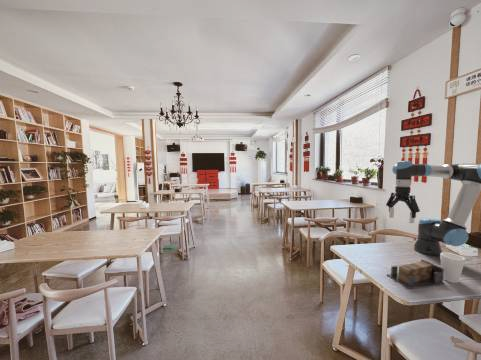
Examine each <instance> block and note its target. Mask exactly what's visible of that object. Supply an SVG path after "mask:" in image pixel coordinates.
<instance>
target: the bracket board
mask: <svg viewBox="0 0 481 360" xmlns="http://www.w3.org/2000/svg"><path fill="white" fill-rule="evenodd" d="M421 261H422V262H425V263H428V264H430V265H432V275H431V278H429V279H425V280H421V281H417V282H415V278H416V276H415V275H409V280H408V284H407V283H405V282H403V281H401V280H399V279H398V275H399V272H398V271H399V266H397V265H392V266H391V270H390V273H388V274H386V276H388V277H389V278H390V279H392V280H394V281H396V282H397V283H398V284H401V285H403V286H404V287H406V288H408V289H410V290H411V289H417V288H424V287H430V286H431V287H432V286H438V285H439V286H440V285H445V284H446V283H445V282H444V279H443V274H444V268H441V266H438V265H436V264H434V263H433V262H432V263H431V262H430V261H427V260H424V259H420V262H421Z"/></svg>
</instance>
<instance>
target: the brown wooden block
mask: <svg viewBox="0 0 481 360" xmlns="http://www.w3.org/2000/svg"><path fill="white" fill-rule="evenodd" d="M398 273H399V275H398V279H399V280H401V281H403V282H405V283H407V284H408V280H409V275H415V276H416V278H415V282H417V281H421V280H425V279H429V278H431V275H432V265H430V264H428V263H425V262H422V261H421V260H420V261H417V262H413V263H409V264H402V265H399V266H398Z"/></svg>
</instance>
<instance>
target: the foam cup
mask: <svg viewBox="0 0 481 360" xmlns="http://www.w3.org/2000/svg"><path fill="white" fill-rule="evenodd" d="M439 258H440V267H441V268H444V274H443V281H446V282H449V283H452V284H453V283H454V284H458V283H459V282H460V279H461V276H462V273H463V272H462V271H463V269H464V265H465V264H466V258H465V257H464V256H463V255H459V254H456V253H451V252H442V253H440V255H439Z"/></svg>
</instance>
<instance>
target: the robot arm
mask: <svg viewBox="0 0 481 360" xmlns="http://www.w3.org/2000/svg"><path fill="white" fill-rule="evenodd" d="M392 173H393V174H395V188H394V189H395V190H394V191H395V192H391V193H390V197H389V198H388V200H387V202H386V205H385V206H386V207H388V212H389V218H390V219H391V218H394V217H395V216H394V215H395V206H396V205H397V203H398V202H404V203H405V204H406V206H407V207H408V209H409V210H410V212H409V221H408V224H415V218H416V217H417V213H419V212H421V211H420V208H419V205H418V202H417V201H416V196H415V195H413V194H412V195H410V193H411V185H412V177H423V178H424V177H435V178H436V177H437V178H442V179H445V180H447V179H448V180H452V181H453V180H454V181H459V182H460V183H461V184H462V186H461V188H460V190H459V191H458V194H457V196H456V199H455V201H454V202H453V205H452V206H451V208H450V211H449V213H448V215H447V217H446V218H444V219H442V220H441V219H436V218H420V219H419V221H418V230H417V239H416V241H415V242H414V245H413V249H414V250H415V251H416V252H417V253H421V254H424V255H428V256H429V255H430V256H439V257H440V253H443V250H442V246H441V243H444V244H446V245H448V246H452V247H460V246H463V245H465V243H467V241H468V240H469V232H468V231H467V228H468V227H467V226H466V222H467V220H468V218H469V216H470V214H471V212H472V210H473V208H474V206H475V204H476V201H478V197H479V195H480V193H481V163H457V164H444V165H434V164H433V165H432V164H431V165H430V164H427V163H426V164H425V163H413V161H411V160H399V161H397V162H396V164H395V165H393V166H392Z"/></svg>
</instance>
